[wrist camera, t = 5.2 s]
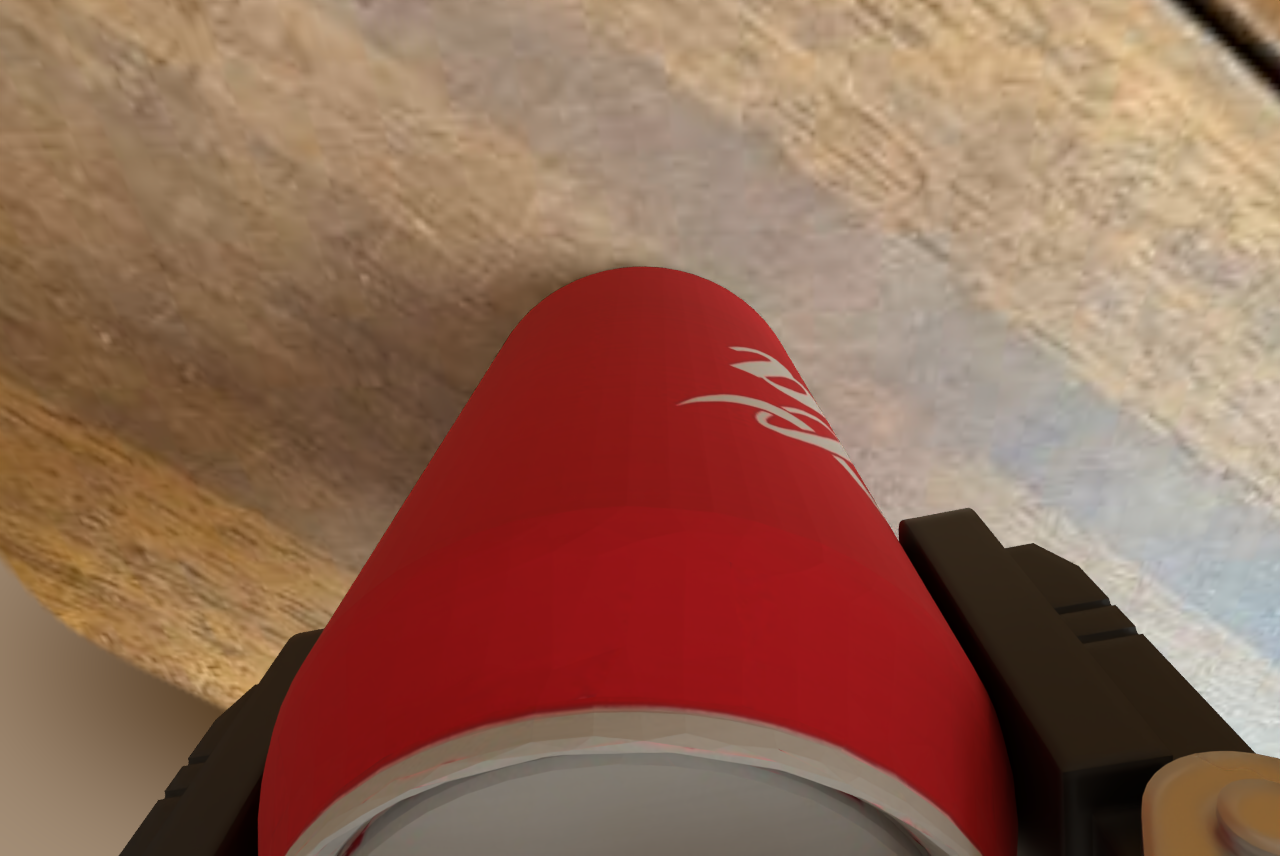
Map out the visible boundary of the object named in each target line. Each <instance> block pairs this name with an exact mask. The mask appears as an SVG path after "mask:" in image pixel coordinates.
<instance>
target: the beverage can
mask: <svg viewBox="0 0 1280 856" xmlns="http://www.w3.org/2000/svg"><path fill="white" fill-rule="evenodd" d="M1017 846H1018V817H1017V808H1016V798H1015V788H1014V778H1013V773H1012V769H1011V765H1010V761H1009V757H1008V753H1007V749H1006V745H1005V741H1004V737H1003V734H1002V730H1001V726H1000V723H999V720H998V717H997V714H996V711H995V708H994V706H993V704H992V702H991V699H990V697H989V695H988V693H987V691H986V689H985V687H984V685H983V683H982V682H981V680H980V678H979V676H978V674H977V673H976V671H975V669H974V667H973V666H972V664H971V662H970V660H969V659H968V657H967V655H966V654H965V652H964V650H963V649H962V647H961V645H960V644H959V642H958V640H957V639H956V637H955V635H954V633H953V632H952V630H951V628H950V627H949V625H948V623H947V622H946V620H945V618H944V617H943V615H942V613H941V612H940V610H939V608H938V607H937V605H936V603H935V602H934V600H933V598H932V597H931V595H930V593H929V591H928V590H927V588H926V586H925V585H924V583H923V581H922V580H921V578H920V576H919V575H918V573H917V571H916V570H915V568H914V566H913V565H912V563H911V561H910V560H909V558H908V556H907V554H906V553H905V551H904V549H903V548H902V546H901V544H900V543H899V541H898V539H897V538H896V536H895V534H894V533H893V531H892V529H891V528H890V526H889V524H888V523H887V521H886V519H885V517H884V516H883V514H882V512H881V511H880V509H879V507H878V506H877V504H876V502H875V501H874V499H873V497H872V496H871V494H870V492H869V491H868V489H867V487H866V486H865V484H864V482H863V480H862V479H861V477H860V475H859V474H858V472H857V470H856V469H855V467H854V465H853V464H852V462H851V460H850V459H849V457H848V455H847V454H846V452H845V450H844V449H843V447H842V445H841V444H840V442H839V440H838V438H837V437H836V435H835V433H834V432H833V430H832V428H831V427H830V425H829V423H828V422H827V420H826V418H825V417H824V415H823V413H822V412H821V410H820V408H819V407H818V405H817V403H816V401H815V400H814V398H813V396H812V395H811V393H810V391H809V390H808V388H807V386H806V385H805V383H804V381H803V380H802V378H801V376H800V375H799V373H798V371H797V370H796V368H795V366H794V364H793V363H792V361H791V359H790V358H789V356H788V354H787V353H786V351H785V349H784V348H783V346H782V344H781V343H780V341H779V339H778V338H777V336H776V335H775V333H774V332H773V331H772V329H771V328H770V327H769V326H768V324H767V323H766V322H765V320H764V319H763V318H762V317H761V316H760V315H759V314H758V313H757V312H756V311H755V310H754V309H753V308H751V307H750V306H749V305H748V304H747V303H746V302H744V301H743V300H742V299H740V298H739V297H737V296H736V295H735V294H733V293H732V292H730V291H729V290H727V289H725V288H723V287H722V286H720V285H718V284H716V283H714V282H712V281H709V280H707V279H704V278H701V277H699V276H696V275H694V274H690V273H686V272H682V271H678V270H673V269H667V268H659V267H626V268H619V269H613V270H607V271H603V272H599V273H596V274H592V275H589V276H586V277H584V278H581V279H578V280H576V281H574V282H572V283H570V284H568V285H566V286H564V287H562V288H560V289H558V290H557V291H555V292H554V293H552V294H550V295H549V296H548V297H546V298H545V299H543V300H542V301H541V302H540V303H539V304H538V305H536V306H535V307H534V308H533V309H532V310H530V312H529V313H528V314H527V315H526V316H525V317H524V318H523V319H522V320H521V321H520V322H519V324H518V325H517V326H516V327H515V329H514V330H513V331H512V332H511V334H510V335H509V337H508V339H507V340H506V342H505V343H504V345H503V347H502V348H501V350H500V351H499V353H498V355H497V356H496V358H495V359H494V361H493V362H492V364H491V366H490V367H489V369H488V370H487V372H486V374H485V375H484V377H483V378H482V380H481V381H480V383H479V385H478V386H477V388H476V389H475V391H474V393H473V394H472V396H471V397H470V399H469V400H468V402H467V404H466V405H465V407H464V408H463V410H462V412H461V413H460V415H459V416H458V418H457V420H456V421H455V423H454V424H453V426H452V427H451V429H450V431H449V432H448V434H447V435H446V437H445V439H444V440H443V442H442V443H441V445H440V446H439V448H438V450H437V451H436V453H435V454H434V456H433V458H432V459H431V461H430V462H429V464H428V466H427V467H426V469H425V470H424V472H423V473H422V475H421V477H420V478H419V480H418V481H417V483H416V485H415V486H414V488H413V489H412V491H411V492H410V494H409V496H408V497H407V499H406V500H405V502H404V504H403V505H402V507H401V508H400V510H399V511H398V513H397V515H396V516H395V518H394V519H393V521H392V523H391V524H390V526H389V527H388V529H387V531H386V532H385V534H384V535H383V537H382V538H381V540H380V542H379V543H378V545H377V546H376V548H375V550H374V551H373V553H372V554H371V556H370V557H369V559H368V561H367V562H366V564H365V565H364V567H363V569H362V570H361V572H360V573H359V575H358V576H357V578H356V580H355V581H354V583H353V584H352V586H351V588H350V589H349V591H348V592H347V594H346V596H345V597H344V599H343V600H342V602H341V603H340V605H339V607H338V608H337V610H336V611H335V613H334V615H333V616H332V618H331V619H330V621H329V622H328V624H327V626H326V627H325V629H324V630H323V632H322V634H321V635H320V637H319V638H318V640H317V642H316V643H315V645H314V646H313V648H312V649H311V651H310V653H309V654H308V656H307V657H306V659H305V661H304V662H303V664H302V665H301V667H300V669H299V671H298V672H297V674H296V676H295V677H294V679H293V681H292V683H291V686H290V688H289V690H288V692H287V694H286V696H285V699H284V701H283V703H282V705H281V708H280V711H279V714H278V717H277V720H276V723H275V726H274V730H273V733H272V737H271V742H270V746H269V750H268V754H267V759H266V763H265V768H264V773H263V778H262V783H261V793H260V802H259V812H258V856H1017Z"/></svg>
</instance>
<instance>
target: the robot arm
mask: <svg viewBox="0 0 1280 856" xmlns="http://www.w3.org/2000/svg"><path fill="white" fill-rule="evenodd" d="M899 543H900V544H901V546H902V548H903V549H904V551H905V553H906V554H907V556H908V558H909V560H910V561H911V563H912V565H913V566H914V568H915V570H916V571H917V573H918V575H919V576H920V578H921V580H922V581H923V583H924V585H925V586H926V588H927V590H928V591H929V593H930V595H931V597H932V598H933V600H934V602H935V603H936V605H937V607H938V608H939V610H940V612H941V613H942V615H943V617H944V618H945V620H946V622H947V623H948V625H949V627H950V628H951V630H952V632H953V633H954V635H955V637H956V639H957V640H958V642H959V644H960V645H961V647H962V649H963V650H964V652H965V654H966V655H967V657H968V659H969V660H970V662H971V664H972V666H973V667H974V669H975V671H976V673H977V674H978V676H979V678H980V680H981V682H982V683H983V685H984V687H985V689H986V691H987V693H988V695H989V697H990V699H991V702H992V704H993V706H994V708H995V711H996V714H997V717H998V720H999V723H1000V726H1001V730H1002V734H1003V737H1004V741H1005V745H1006V749H1007V753H1008V757H1009V761H1010V765H1011V769H1012V773H1013V778H1014V788H1015V798H1016V808H1017V817H1018V846H1017V856H1280V759H1278V758H1274V757H1269V756H1264V755H1260V754H1256V753H1255V752H1254V751H1253V750H1252V749H1251V748H1250V747H1249V746H1248V745H1247V744H1246V743H1245V742H1244V741H1243V740H1242V739H1241V738H1240V736H1239V735H1238V734H1237V733H1236V732H1235V731H1234V730H1233V729H1232V728H1231V727H1230V726H1229V725H1228V724H1227V723H1226V722H1225V721H1224V720H1223V718H1222V717H1221V716H1220V715H1219V714H1218V713H1217V712H1216V711H1215V710H1214V709H1213V708H1212V707H1211V706H1210V705H1209V704H1208V703H1207V702H1206V700H1205V699H1204V698H1203V697H1202V696H1201V695H1200V694H1199V693H1198V692H1197V691H1196V690H1195V689H1194V688H1193V687H1192V686H1191V685H1190V684H1189V682H1188V681H1187V680H1186V679H1185V678H1184V677H1183V676H1182V675H1181V674H1180V673H1179V672H1178V671H1177V670H1176V669H1175V668H1174V667H1173V666H1172V664H1171V663H1170V662H1169V661H1168V660H1167V659H1166V658H1165V657H1164V656H1163V655H1162V654H1161V653H1160V652H1159V651H1158V650H1157V649H1156V648H1155V646H1154V645H1153V644H1152V643H1151V642H1150V641H1149V640H1148V639H1147V638H1146V637H1145V636H1144V635H1143V634H1138V633H1137V631H1136V626H1135V625H1134V624H1133V623H1132V622H1131V621H1130V620H1129V619H1128V618H1127V617H1126V616H1125V615H1124V614H1123V613H1122V612H1121V611H1120V609H1119V608H1118V607H1117V606H1116V605H1113V606H1112V605H1111V604H1110V601H1109V598H1108V597H1107V596H1106V595H1105V594H1104V593H1103V591H1102V590H1101V589H1100V588H1099V587H1098V586H1097V585H1096V584H1095V583H1094V582H1093V581H1092V580H1091V579H1090V578H1089V577H1088V576H1087V575H1086V573H1085V572H1084V571H1083V570H1082V569H1081V568H1080V567H1079V566H1077V565H1075V564H1073V563H1071V562H1069V561H1067V560H1065V559H1063V558H1061V557H1059V556H1057V555H1056V554H1054V553H1052V552H1050V551H1048V550H1046V549H1044V548H1042V547H1040V546H1038V545H1036V544H1034V543H1032V544H1026V545H1021V546H1015V547H1010V548H1004V547H1003V546H1002V544H1001V543H1000V542H999V541H998V539H997V538H996V537H995V536H994V534H993V533H992V532H991V531H990V530H989V528H988V527H987V526H986V525H985V523H984V522H983V521H982V520H981V519H980V517H979V516H978V515H977V514H976V513H975V512H974V510H972V509H971V508H965V509H959V510H954V511H949V512H944V513H938V514H933V515H928V516H922V517H917V518H912V519H906V520H902V521H901V522H900V524H899ZM324 629H325V628H324ZM324 629H319V630H314V631H308V632H303V633H298V634H296V635H294V636H293V637H291V638H290V639H289V640H288V642H287V643H286V644H285V646H284V647H283V649H282V650H281V652H280V653H279V655H278V656H277V658H276V659H275V661H274V662H273V663H272V665H271V666H270V668H269V669H268V671H267V672H266V674H265V675H264V677H263V678H262V680H261V681H260V683H259V684H257V685H254V686H253V687H252V688H251V689H250V690H249V691H248V692H246V693H245V694H244V695H243V696H242V697H241V698H240V699H239V700H237V701H236V702H235V703H234V704H233V705H232V706H231V707H230V708H228V709H227V710H226V711H225V712H224V713H223V714H222V715H221V716H220V717H218V718H217V719H216V720H215V722H214V723H213V724H212V726H211V727H210V729H209V730H208V732H207V733H206V734H205V735H204V737H203V738H202V740H201V741H200V743H199V744H198V745H197V747H196V748H195V750H194V751H193V753H192V754H191V755H190V757H189V758H188V760H189V764H188V766H183V767H182V768H181V769H180V771H179V772H178V773H177V775H176V776H175V778H174V779H173V780H172V782H171V783H170V785H169V786H168V787H167V789H166V790H165V799H163V800H158V801H157V803H156V804H155V806H154V807H153V808H152V810H151V811H150V813H149V814H148V815H147V817H146V818H145V820H144V821H143V823H142V824H141V826H140V827H139V828H138V830H137V831H136V832H135V834H134V835H133V837H132V838H131V840H130V841H129V842H128V844H127V845H126V846H125V848H124V849H123V851H122V852H121V854H120V855H119V856H258V812H259V802H260V793H261V783H262V778H263V773H264V768H265V763H266V759H267V754H268V750H269V746H270V742H271V737H272V733H273V730H274V726H275V723H276V720H277V717H278V714H279V711H280V708H281V705H282V703H283V701H284V699H285V696H286V694H287V692H288V690H289V688H290V686H291V683H292V681H293V679H294V677H295V676H296V674H297V672H298V671H299V669H300V667H301V665H302V664H303V662H304V661H305V659H306V657H307V656H308V654H309V653H310V651H311V649H312V648H313V646H314V645H315V643H316V642H317V640H318V638H319V637H320V635H321V634H322V632H323V630H324Z"/></svg>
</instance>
